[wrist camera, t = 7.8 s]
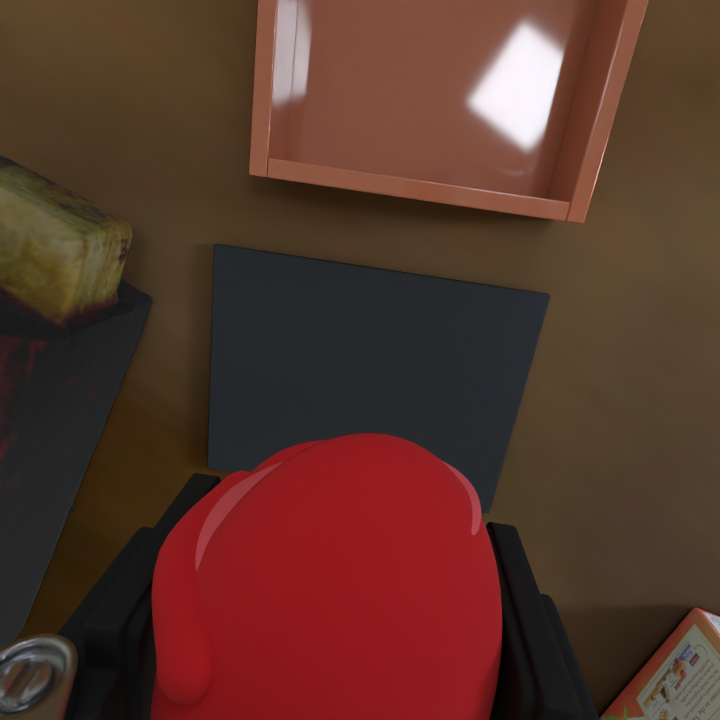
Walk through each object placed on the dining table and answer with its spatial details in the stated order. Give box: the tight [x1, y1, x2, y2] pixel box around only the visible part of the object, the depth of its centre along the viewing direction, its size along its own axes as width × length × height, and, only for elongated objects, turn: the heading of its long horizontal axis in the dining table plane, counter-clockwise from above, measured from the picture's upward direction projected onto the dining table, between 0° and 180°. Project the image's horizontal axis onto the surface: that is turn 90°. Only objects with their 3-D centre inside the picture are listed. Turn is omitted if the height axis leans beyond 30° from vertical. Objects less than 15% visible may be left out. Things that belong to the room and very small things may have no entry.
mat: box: [207, 244, 550, 513], centre depth 27 cm, size 18×14×1 cm
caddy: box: [249, 0, 649, 224], centre depth 19 cm, size 15×15×4 cm
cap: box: [150, 433, 502, 720], centre depth 8 cm, size 8×6×6 cm
